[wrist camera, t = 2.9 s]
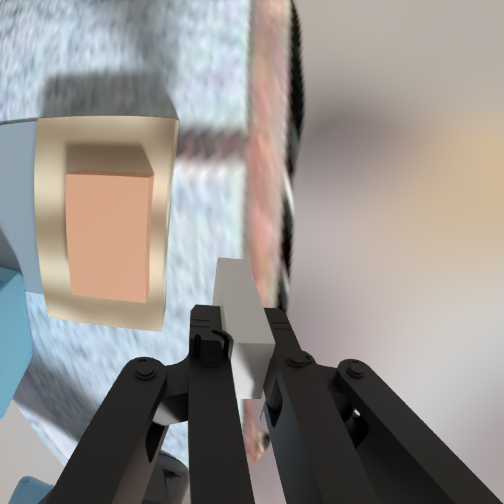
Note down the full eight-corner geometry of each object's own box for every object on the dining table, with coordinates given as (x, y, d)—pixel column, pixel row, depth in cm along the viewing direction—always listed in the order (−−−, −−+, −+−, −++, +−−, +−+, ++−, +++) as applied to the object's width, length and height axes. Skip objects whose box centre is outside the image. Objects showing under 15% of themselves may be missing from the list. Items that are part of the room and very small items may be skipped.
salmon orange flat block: (149, 289, 23) (145, 303, 21) (80, 282, 21) (72, 294, 20) (154, 174, 20) (149, 177, 18) (77, 170, 18) (66, 174, 17)
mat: (63, 295, 26) (62, 297, 25) (-1, 285, 24) (-2, 286, 24) (59, 119, 20) (58, 119, 20) (-10, 126, 18) (-12, 126, 18)
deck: (165, 307, 28) (161, 331, 24) (63, 295, 26) (48, 316, 22) (180, 121, 22) (175, 118, 18) (59, 119, 20) (37, 118, 16)
